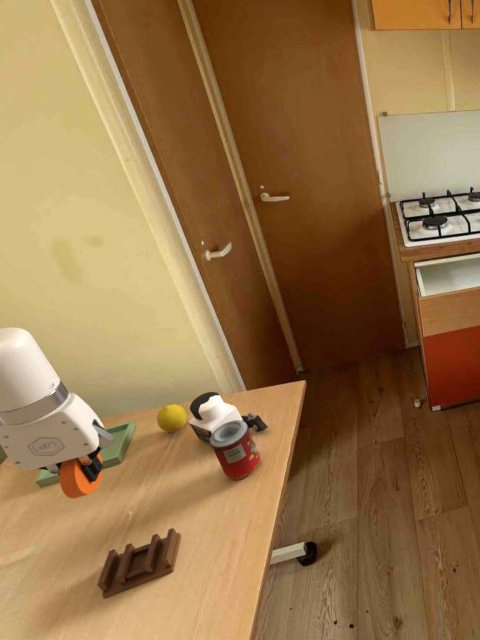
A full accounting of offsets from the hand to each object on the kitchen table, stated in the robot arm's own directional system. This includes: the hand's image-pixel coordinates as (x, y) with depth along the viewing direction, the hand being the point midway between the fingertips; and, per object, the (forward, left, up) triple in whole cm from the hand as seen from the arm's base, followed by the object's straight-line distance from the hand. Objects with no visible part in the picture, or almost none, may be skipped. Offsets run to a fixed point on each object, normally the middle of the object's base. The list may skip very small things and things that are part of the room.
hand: (86, 477), depth 74 cm
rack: (+4, -7, -19) cm, 20 cm away
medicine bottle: (+13, +21, -19) cm, 31 cm away
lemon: (+3, +27, -19) cm, 33 cm away
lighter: (+20, +19, -19) cm, 34 cm away
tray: (-14, +27, -19) cm, 36 cm away
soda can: (+19, +8, -19) cm, 28 cm away
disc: (0, 0, +2) cm, 2 cm away
